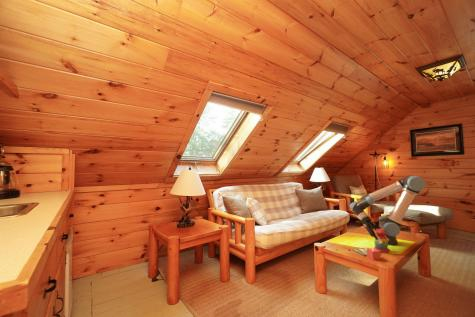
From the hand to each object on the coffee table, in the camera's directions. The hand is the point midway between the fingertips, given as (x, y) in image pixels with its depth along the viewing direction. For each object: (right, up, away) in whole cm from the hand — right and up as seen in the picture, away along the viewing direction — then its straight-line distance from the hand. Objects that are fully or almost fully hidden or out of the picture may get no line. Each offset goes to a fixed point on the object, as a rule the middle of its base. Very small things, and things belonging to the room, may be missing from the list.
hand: (384, 242), depth 178 cm
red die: (-16, -8, -11) cm, 21 cm away
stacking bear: (-1, -8, +2) cm, 9 cm away
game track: (-15, -8, 0) cm, 17 cm away
